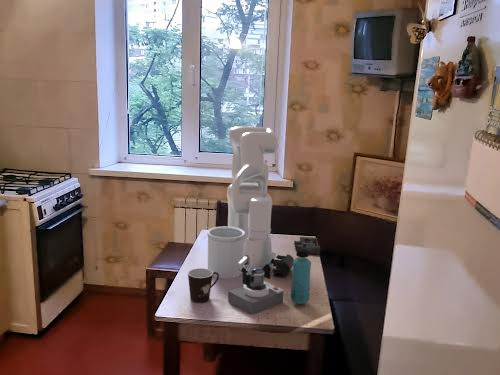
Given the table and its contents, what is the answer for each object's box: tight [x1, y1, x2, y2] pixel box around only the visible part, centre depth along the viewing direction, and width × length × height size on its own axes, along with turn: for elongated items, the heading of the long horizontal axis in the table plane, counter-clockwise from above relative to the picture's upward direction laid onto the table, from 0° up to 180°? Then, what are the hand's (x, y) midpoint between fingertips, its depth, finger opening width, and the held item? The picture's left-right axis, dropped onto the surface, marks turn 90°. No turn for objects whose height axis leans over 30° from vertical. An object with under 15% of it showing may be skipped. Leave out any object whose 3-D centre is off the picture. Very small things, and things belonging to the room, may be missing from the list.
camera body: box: [227, 280, 285, 315], centre depth 157 cm, size 12×15×6 cm
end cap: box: [272, 253, 295, 278], centre depth 184 cm, size 10×7×7 cm
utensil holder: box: [206, 225, 245, 279], centre depth 180 cm, size 15×15×18 cm
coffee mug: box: [187, 267, 220, 304], centre depth 157 cm, size 12×9×10 cm
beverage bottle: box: [290, 248, 312, 305], centre depth 155 cm, size 6×7×20 cm
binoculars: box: [293, 236, 321, 255], centre depth 215 cm, size 11×16×6 cm
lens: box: [248, 266, 265, 290], centre depth 156 cm, size 5×5×8 cm
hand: (256, 281), depth 156 cm, fingers open, 9 cm apart
